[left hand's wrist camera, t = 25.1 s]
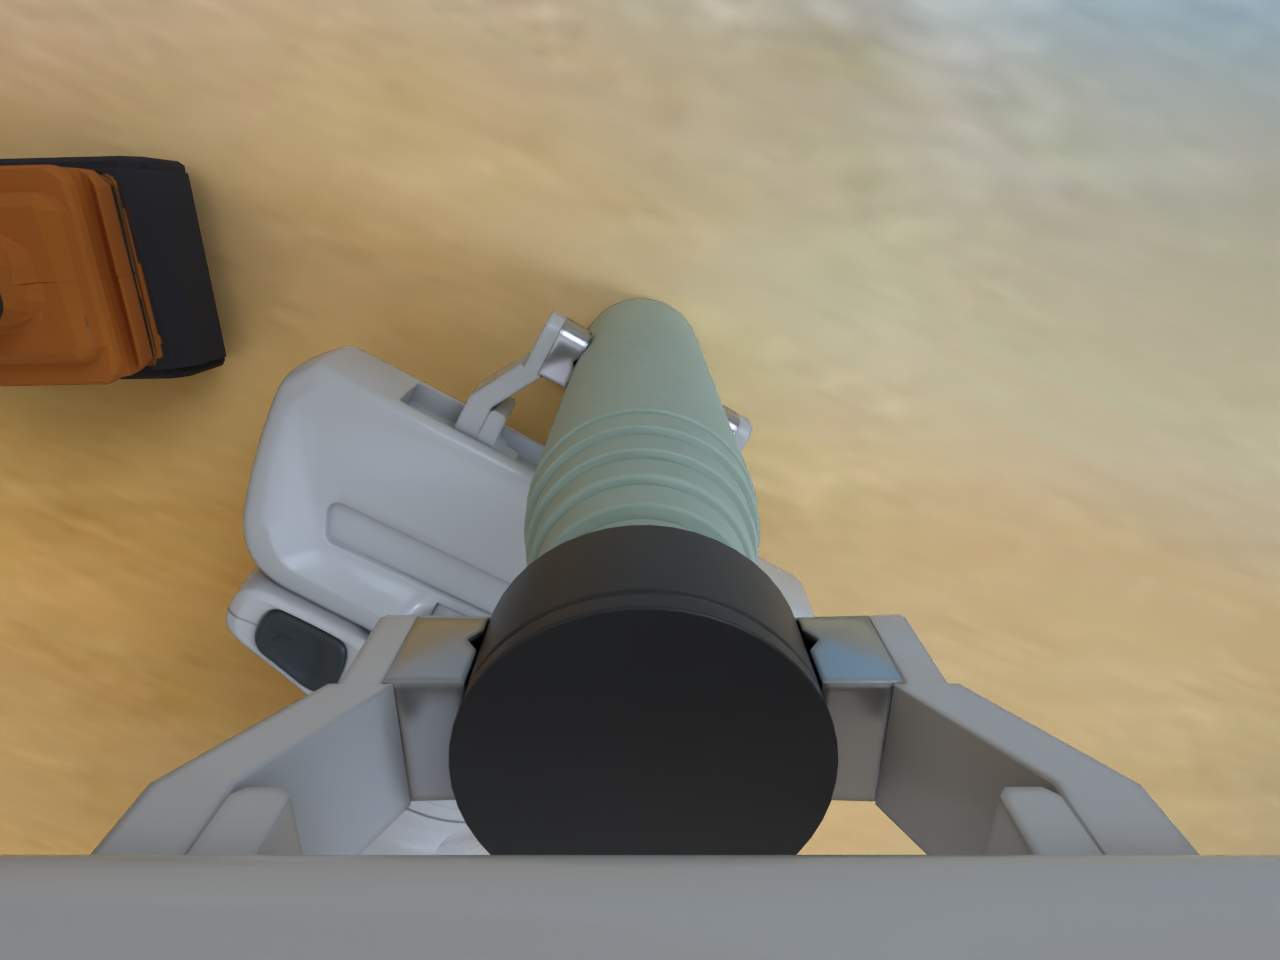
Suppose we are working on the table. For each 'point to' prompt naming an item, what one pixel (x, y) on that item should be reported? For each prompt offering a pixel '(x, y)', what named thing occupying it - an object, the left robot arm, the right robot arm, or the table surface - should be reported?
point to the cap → (643, 707)
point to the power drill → (102, 273)
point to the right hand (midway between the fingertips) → (653, 368)
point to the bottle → (641, 440)
